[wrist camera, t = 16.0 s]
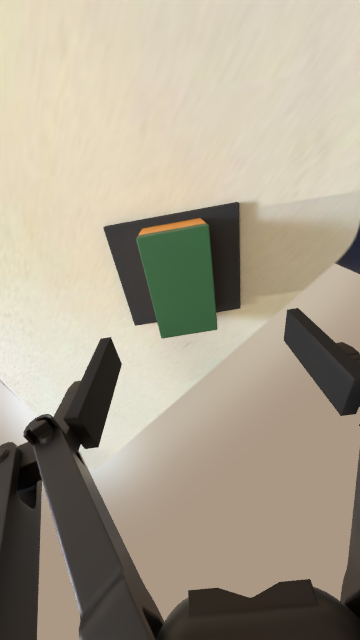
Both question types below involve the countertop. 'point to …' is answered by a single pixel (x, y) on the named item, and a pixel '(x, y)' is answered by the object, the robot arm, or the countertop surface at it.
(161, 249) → the sponge
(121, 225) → the sink mat
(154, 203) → the countertop surface
